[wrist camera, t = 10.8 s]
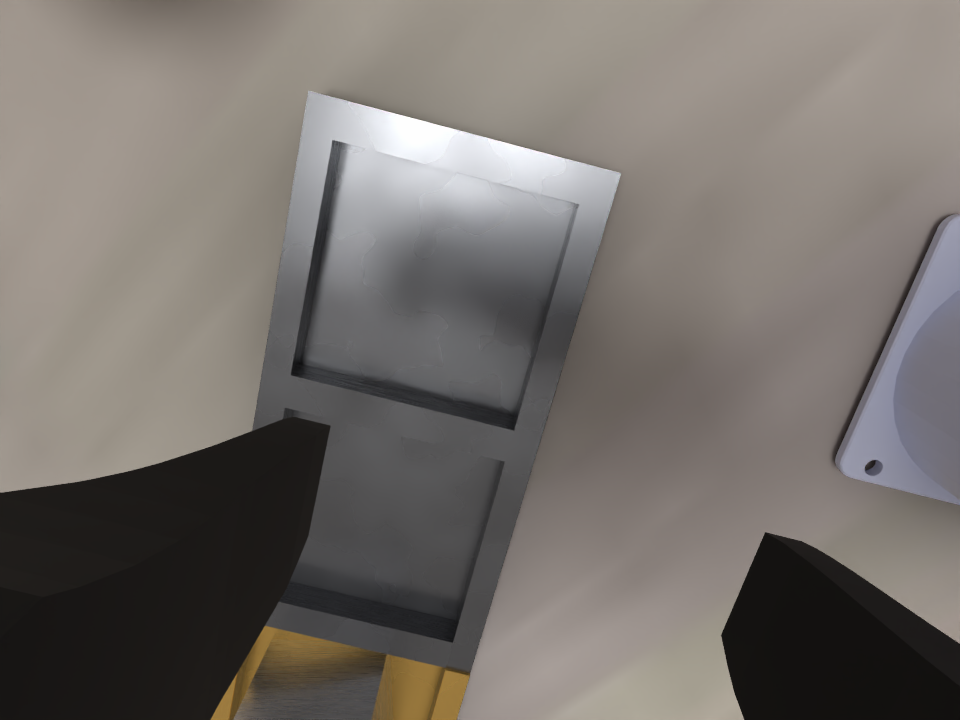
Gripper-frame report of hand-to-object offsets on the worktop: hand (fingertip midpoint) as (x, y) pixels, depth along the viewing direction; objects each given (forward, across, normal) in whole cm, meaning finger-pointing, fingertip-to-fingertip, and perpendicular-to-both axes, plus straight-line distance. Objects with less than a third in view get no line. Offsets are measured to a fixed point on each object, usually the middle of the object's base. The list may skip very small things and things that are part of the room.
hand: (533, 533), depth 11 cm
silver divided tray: (+10, +3, +6) cm, 12 cm away
